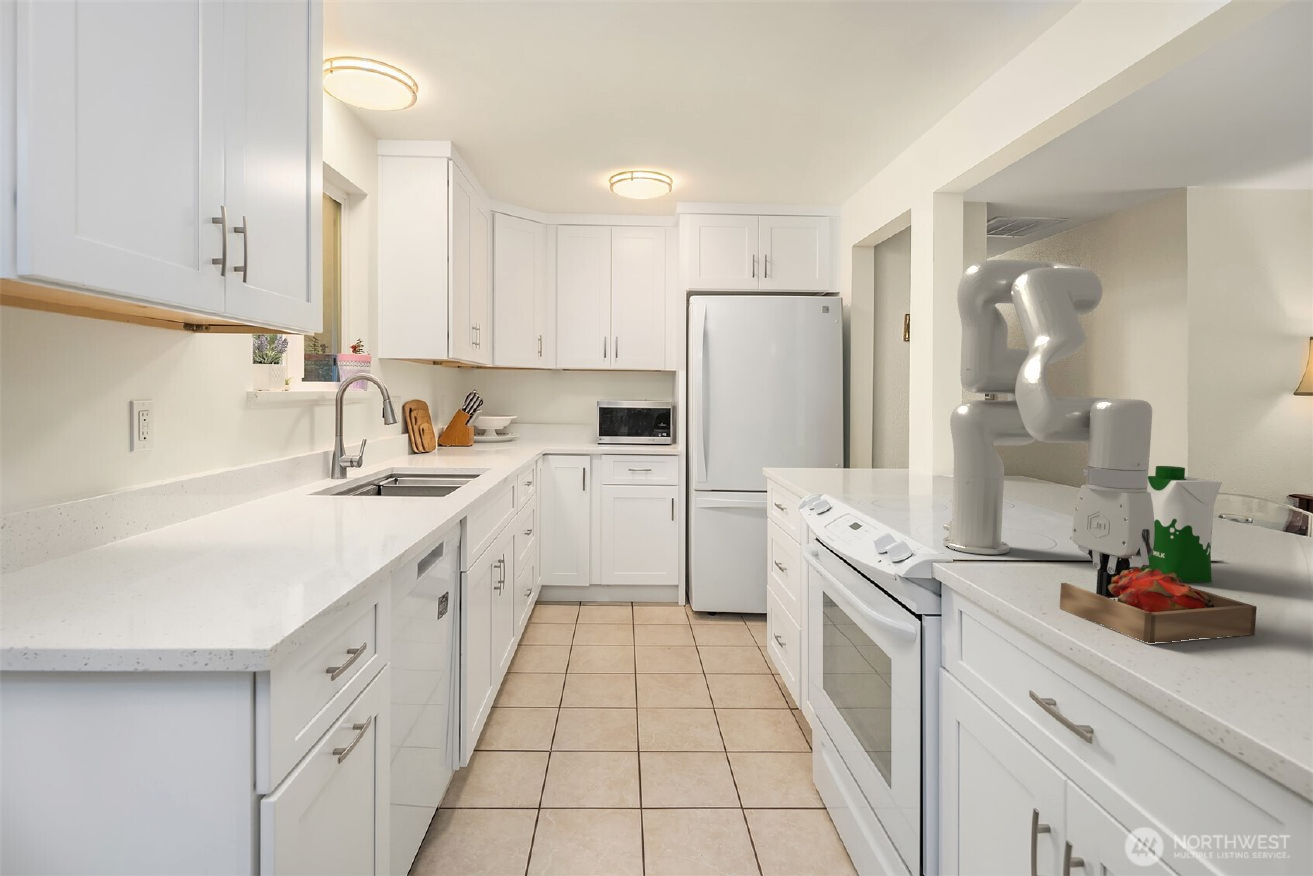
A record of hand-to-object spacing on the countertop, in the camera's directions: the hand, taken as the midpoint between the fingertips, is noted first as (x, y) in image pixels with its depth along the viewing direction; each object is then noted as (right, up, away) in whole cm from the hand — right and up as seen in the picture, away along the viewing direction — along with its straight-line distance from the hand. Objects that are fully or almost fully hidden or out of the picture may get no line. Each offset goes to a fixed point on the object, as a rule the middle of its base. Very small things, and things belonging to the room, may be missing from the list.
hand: (1109, 595), depth 94 cm
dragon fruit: (+2, -2, -7) cm, 7 cm away
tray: (+1, -2, -6) cm, 7 cm away
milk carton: (+24, -1, +15) cm, 28 cm away
